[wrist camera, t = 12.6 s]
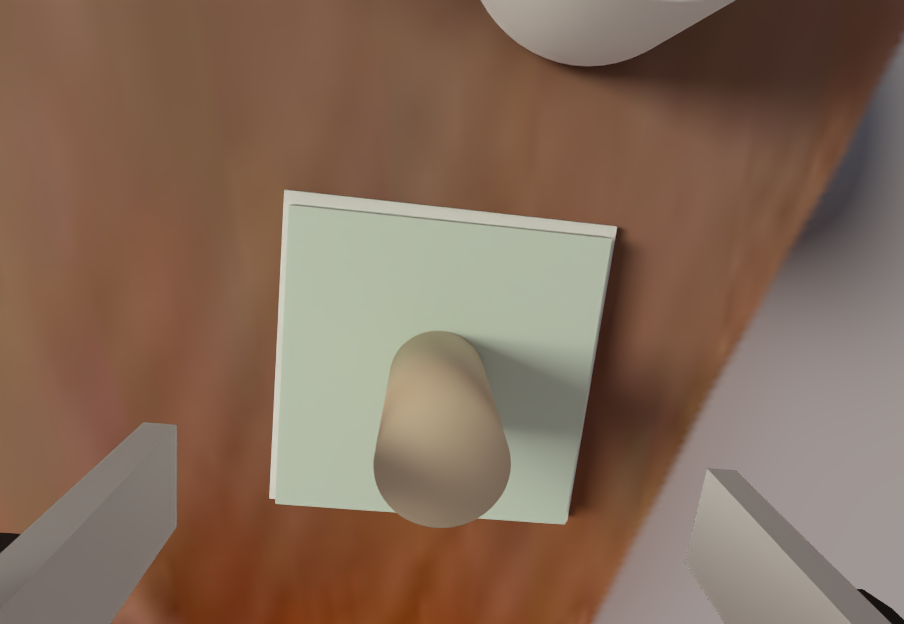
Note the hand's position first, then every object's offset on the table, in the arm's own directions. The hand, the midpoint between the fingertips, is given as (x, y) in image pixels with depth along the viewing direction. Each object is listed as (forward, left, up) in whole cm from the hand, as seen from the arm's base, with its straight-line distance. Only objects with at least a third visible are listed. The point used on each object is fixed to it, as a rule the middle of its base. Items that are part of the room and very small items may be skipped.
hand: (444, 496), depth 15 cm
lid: (0, 0, -12) cm, 12 cm away
